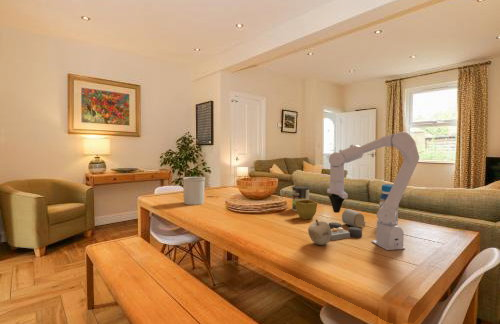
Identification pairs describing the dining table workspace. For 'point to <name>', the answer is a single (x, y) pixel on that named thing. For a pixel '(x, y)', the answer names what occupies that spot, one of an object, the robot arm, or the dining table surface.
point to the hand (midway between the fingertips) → (336, 212)
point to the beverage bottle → (384, 195)
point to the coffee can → (299, 195)
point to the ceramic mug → (353, 218)
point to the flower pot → (306, 208)
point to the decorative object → (320, 232)
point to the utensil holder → (193, 190)
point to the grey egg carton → (339, 233)
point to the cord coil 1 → (334, 225)
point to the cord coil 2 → (355, 232)
